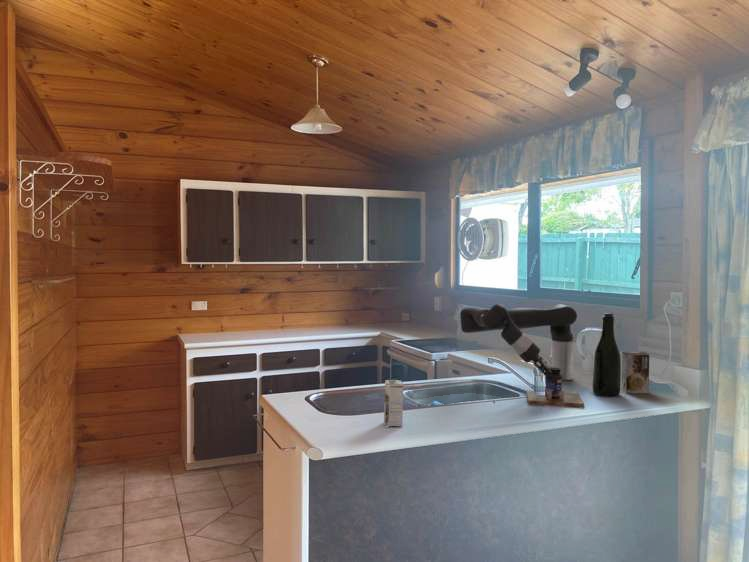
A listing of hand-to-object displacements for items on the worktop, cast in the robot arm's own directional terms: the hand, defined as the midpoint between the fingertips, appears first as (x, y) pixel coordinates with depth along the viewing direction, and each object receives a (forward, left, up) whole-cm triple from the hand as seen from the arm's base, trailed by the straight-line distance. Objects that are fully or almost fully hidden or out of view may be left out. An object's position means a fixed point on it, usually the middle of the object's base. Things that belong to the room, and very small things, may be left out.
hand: (554, 378), depth 228 cm
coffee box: (+15, +38, -9) cm, 42 cm away
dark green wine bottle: (+9, +25, -9) cm, 28 cm away
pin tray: (0, 0, -9) cm, 9 cm away
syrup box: (-20, -68, -9) cm, 72 cm away
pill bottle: (0, 0, -7) cm, 7 cm away
